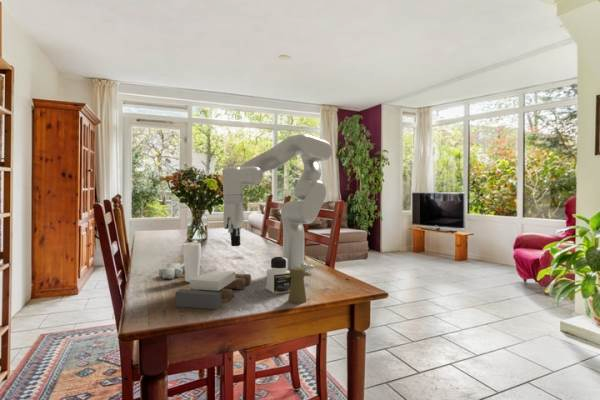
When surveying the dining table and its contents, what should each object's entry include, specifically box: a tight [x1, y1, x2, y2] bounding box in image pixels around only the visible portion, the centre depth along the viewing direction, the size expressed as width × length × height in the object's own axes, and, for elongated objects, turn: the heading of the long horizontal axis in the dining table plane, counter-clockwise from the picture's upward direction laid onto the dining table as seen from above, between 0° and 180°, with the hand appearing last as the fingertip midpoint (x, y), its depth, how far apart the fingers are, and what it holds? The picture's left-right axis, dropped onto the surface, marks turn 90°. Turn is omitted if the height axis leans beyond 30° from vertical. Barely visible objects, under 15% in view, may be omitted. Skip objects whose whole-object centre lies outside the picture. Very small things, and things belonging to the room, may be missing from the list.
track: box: [222, 273, 252, 303], centre depth 125 cm, size 14×23×4 cm, turn 168°
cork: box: [288, 267, 307, 305], centre depth 114 cm, size 6×6×11 cm
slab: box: [189, 269, 236, 291], centre depth 118 cm, size 10×14×3 cm
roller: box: [189, 288, 234, 301], centre depth 116 cm, size 14×4×4 cm, turn 78°
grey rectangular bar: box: [175, 288, 223, 311], centre depth 108 cm, size 14×3×4 cm, turn 78°
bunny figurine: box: [158, 262, 184, 280], centre depth 146 cm, size 10×5×15 cm
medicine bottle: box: [266, 256, 291, 295], centre depth 126 cm, size 7×7×12 cm
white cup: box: [182, 241, 202, 283], centre depth 137 cm, size 7×7×15 cm
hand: (235, 245), depth 135 cm, fingers closed
